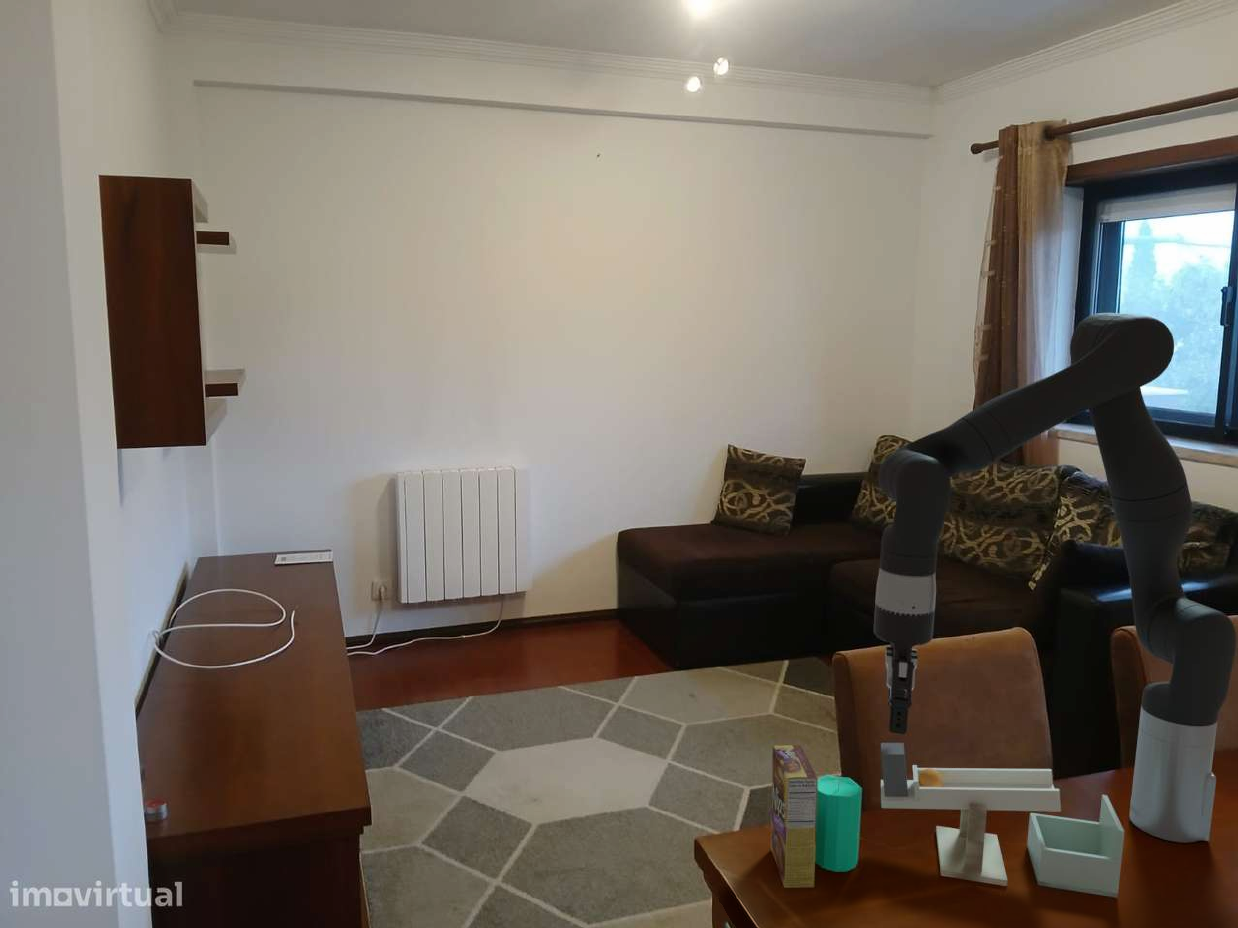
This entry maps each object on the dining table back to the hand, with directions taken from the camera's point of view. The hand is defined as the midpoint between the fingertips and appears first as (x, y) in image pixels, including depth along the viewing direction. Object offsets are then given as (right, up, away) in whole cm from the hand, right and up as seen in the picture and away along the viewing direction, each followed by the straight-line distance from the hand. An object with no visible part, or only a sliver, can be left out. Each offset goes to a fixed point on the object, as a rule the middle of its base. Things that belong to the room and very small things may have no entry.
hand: (896, 718), depth 124 cm
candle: (-8, -19, 0) cm, 21 cm away
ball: (+5, -8, 0) cm, 9 cm away
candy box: (-15, -19, -3) cm, 24 cm away
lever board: (+9, -11, -1) cm, 14 cm away
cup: (+22, -19, -3) cm, 29 cm away
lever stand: (+10, -19, 0) cm, 21 cm away
